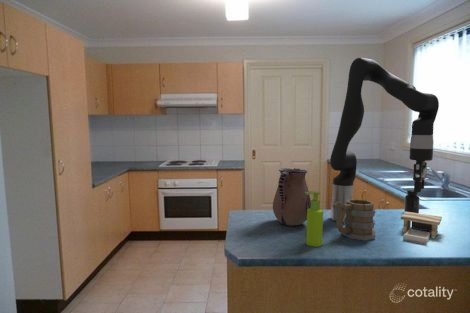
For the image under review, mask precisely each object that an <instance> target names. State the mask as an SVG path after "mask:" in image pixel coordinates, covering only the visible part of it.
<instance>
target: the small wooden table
mask: <svg viewBox="0 0 470 313" xmlns="http://www.w3.org/2000/svg"><path fill="white" fill-rule="evenodd" d="M400 220H403V227H402V228H403V229H402V232H403V234H406V232H407V231H408V229H409V228H411V229H415V228H416V229H415V230H421V229H422V231H427V230H428V231H431V235H430V238H431V237H432V239H435V238H436V236H437V233H438V229H439V228H438V227H439V226H440V224H441V222H442V220H443V216H439V215H432V214H426V213H425V214H424V213H420V212H419V213H412V212H404V213H403V214H402V215H401V216H400ZM428 231H427V232H428Z"/></svg>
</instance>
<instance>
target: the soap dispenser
mask: <svg viewBox="0 0 470 313" xmlns="http://www.w3.org/2000/svg"><path fill="white" fill-rule="evenodd" d="M305 194H307V195H308V194H309V195H312V197H313V198H312V200H311V208H309V209H307V220H306V230H305V232H306V233H305V234H306V235H305V236H306V238H305V239H306V240H305V244H306V245H307V246H311V247H316V248H317V247H321V246H323V227H324V209H322V208H321V200H319V195H321V192H319V191H312V190H311V191H309V192H305Z"/></svg>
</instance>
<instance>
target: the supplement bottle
mask: <svg viewBox="0 0 470 313" xmlns="http://www.w3.org/2000/svg"><path fill="white" fill-rule="evenodd" d="M418 194H419V192H414V189H407V190H406V195H405V196H404V211H405V212H412V213H419V214H420V196H419V195H418Z"/></svg>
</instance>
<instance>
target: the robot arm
mask: <svg viewBox="0 0 470 313" xmlns="http://www.w3.org/2000/svg"><path fill="white" fill-rule="evenodd" d="M349 67H350V68H349V70H348V71H349V72H348V78H347V80H348V81H347V87H346V88H347V89H346V93H345V100H344V103H343V104H344V105H343V109H342V112H341V117H340V123H339V128H338V131H337V135H336V140H335V143H334V144H333V149H332V151H331V154H330V160H329V163H330V167H331V169H333V171H336V172H337V171H339V173H338V175H336V176H335V177H333V179H332V198H331V199H330V200H331V202H330V219H331V220H332V221H333V222H337V219H338V216H339V212H340V207H337V208H336V209H335V208H334V207H333V204H334V203H336V202H337V201H338V202H340V203H342V204H344V205H346V204H347V200H352V199H354V198H353V197H354V195H353V194H354V181H355V180H356V176H357V174H356V173H357V165H358V164H357V162H358V161H357V156H356V154H355V152H353V151H351V150H348V147H349V145H350V142H351V141H352V140H353V138H354V136H356V134H357V133H358V131H359V130H360V128H361V126H362V123H363V119H364V115H365V107H364V106H365V105H364V102H363V98H362V88H363V85H364V84H363V83H364V81H365V82H366V81H370V82H373V83H375V84H377V85H378V86H381V87H382V88H383V89H384V91H385V92H386V93H387V94H389V95H390V96H392V97H393V98H395V99H396V100H399V101H400V102H402V104H403V105H405V107H407V108H408V109H409V110H412V111H413V112H415V113H418V115H417V119H414V120H413V121H412V123H411V133H410V134H411V136H410V142H409V157H408V159H410V160H411V161H415V163H414V164H413V172H412V173H413V175H412V181H413V183H414V184H413V190H414V192H418V193H421V192H422V190H424V189H425V181H426V178H427V169H428V165H427V164H428V163H427V162H431V161H433V157H434V156H433V154H434V125H435V122H436V118H437V115H438V112H439V106H440V102H439V99H438V97H437V96H436V94H434V93H427V92H421V91H419V90H418V89H417V88H416V86H414V85H413V84H411V83H410V82H407V81H405V80H404V79H402V78H400V77H398V76H396V75H394V74H393V73H391V72H390V71H388V70H386V68H384V67H383V66H382V65H381V64H379V63H378V62H377V61H375V59H372V58H371V59H370V58H365V57H357V58H354V60H353V61H352V62H351V65H350V66H349ZM345 217H346V213H345V216H344V219H345ZM344 219H343V222H342V223H344Z"/></svg>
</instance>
